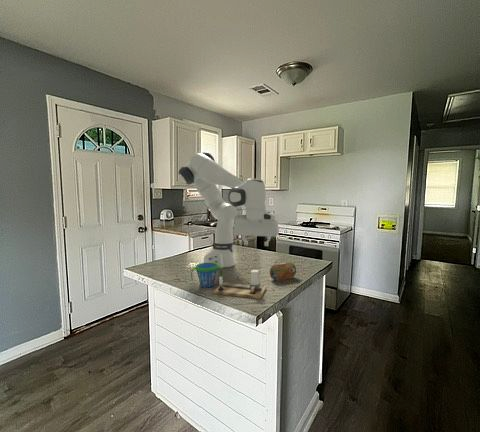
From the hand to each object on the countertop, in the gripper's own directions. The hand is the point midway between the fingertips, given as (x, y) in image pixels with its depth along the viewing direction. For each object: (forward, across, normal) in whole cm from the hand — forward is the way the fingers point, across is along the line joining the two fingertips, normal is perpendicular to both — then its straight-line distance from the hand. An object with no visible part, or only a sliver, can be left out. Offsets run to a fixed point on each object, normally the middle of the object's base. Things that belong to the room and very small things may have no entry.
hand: (256, 245), depth 121 cm
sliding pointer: (+20, -1, -2) cm, 20 cm away
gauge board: (+22, -8, -1) cm, 23 cm away
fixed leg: (+20, -16, -5) cm, 26 cm away
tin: (+22, +9, +22) cm, 32 cm away
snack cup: (+22, -26, +2) cm, 34 cm away
